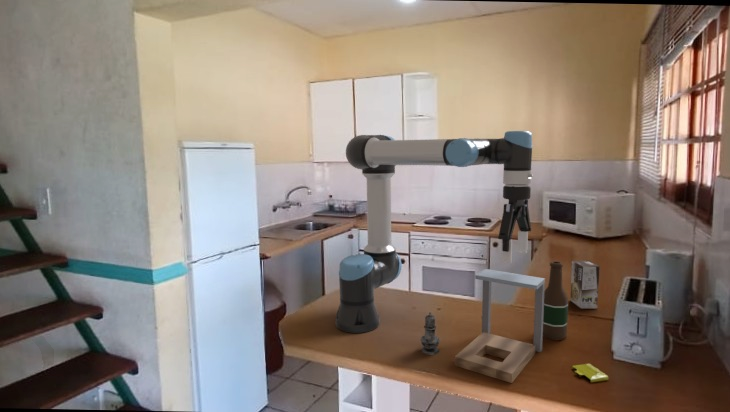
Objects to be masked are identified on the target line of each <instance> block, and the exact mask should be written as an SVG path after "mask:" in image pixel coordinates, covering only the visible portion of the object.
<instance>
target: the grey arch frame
mask: <svg viewBox="0 0 730 412" xmlns="http://www.w3.org/2000/svg"><path fill="white" fill-rule="evenodd" d="M474 279H475V280H479V281H480V280H481V281H482V301H481V302H482V303H481V304H482V308H481V312H482V315H481V333H482V332H485V333H489V334H491V323H492V322H491V318H492V317H491V316H492V313H491V312H492V283H497V284H502V285H508V286H513V287H517V288H518V287H519V288H523V289H529V290H530V289H531V290H534V291H535V292H534V293H535V294H534V295H535V296H534V317H533V319H534V322H533V343H532V344H533V345H535V353H536V352H537V353H541V352H542V351H543V338H544V336H543V315H544V291H545V289H546V288H545V287H546V278H544V277H539V276H534V275H533V276H531V275H525V274H520V273H512V272H508V271H501V270H494V269H489V268H484V269H483V270H481V271H480V272H478V273H477V274H475V277H474Z"/></svg>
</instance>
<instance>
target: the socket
mask: <svg viewBox="0 0 730 412" xmlns="http://www.w3.org/2000/svg"><path fill="white" fill-rule="evenodd" d="M486 354H487V355H491V356H494V357H497V358H501V359H504V360H503V361H497V360H494V359H490V358H487V357H484V356H485V355H486ZM535 354H536V351H535V345H533V343H528V342H524V341H520V340H517V339H513V338H508V337H504V336H500V335H497V334H493V333H490V334H489V333H485V332H482V331H481V333H480V334H479V335H478V336H477V337H475V338H474V339H473V340H472V341H471V342H470V343H469V344H467V345H466V346H465V347H464V348H463V349H462V350H460V352H458V353H457V354H456V355H455V356H454V366H455V367H459V368H462V369H465V370H469V371H472V372H475V373H477V374H481V375H484V376H488V377H491V378H495V379H496V380H500V381H504V382H506V383H511V384H512V383H513V382H514V381H515V379H516V378H517V377H518V376H519V375H520V373H521V372H522V371H523V370H524V368H525V367H526V366H527V365H528V363H529V362H530V361H531V359H532V358H533V357H534V356H535Z"/></svg>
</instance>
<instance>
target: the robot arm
mask: <svg viewBox="0 0 730 412" xmlns="http://www.w3.org/2000/svg"><path fill="white" fill-rule="evenodd" d="M533 147H534V146H533V134H532V132H531V131H529V130H511V131H510V130H509V131H505V132H504V137H500V138H465V137H464V138H463V137H462V138H450V139H449V138H443V139H442V138H439V139H438V138H437V139H436V138H435V139H432V138H431V139H395V138H393V137H392V136H389V135H384V134H369V135H368V134H360V135H356V136H354V137H353V138H351V139H350V140H349V142H347V145H346V148H345V157H346V160H347V162H348V163H349V165H351V166H352V167H353V168H355V169H357V170H361V173H362V175H363V176H364V177H365V178H366V219H367V223H366V224H367V244H366V245H365V246H364V247H363V253H362V254H361V253H357V254H355V255H353V254H352V255H348V256H346V257H344V258H343V259H342V260H341V261H340V263H339V267H338V268H339V269H338V270H339V271H338V276H339V279H338V280H339V281H338V282H339V300H340V301H339V306H338V310H337V313H336V316H335V327H336V328H337V329H338V330H340V331H342V332H345V333H352V334H353V333H354V334H361V333H367V332H372V331H373V330H376V329H377V328H378V327H380V315H379V314H378V311H377V307H376V305H375V290H376V289H378V288H380V287H383V286H384V285H389V284H390V283H392V282H393V281H394V280H396V279H397V278H398V277H399V276H400V274H401V271H402V267H403V266H402V265H403V264H402V259H401V257H400V256H399V254H398V253H397V252H396V250H397V248H396V247H395V246H394V245H393V244H392V187H391V185H392V183H391V182H392V181H391V180H392V179H391V178H392V177H394V176H395V173H396V166H440V167H441V166H444V167H445V166H447V167H449V166H450V167H457V168H466V167H471V166H479V165H503V173H502V174H503V175H502V176H503V177H502V183H503V184H504V186H502V198H503V199H505V200H508V203H504V204H503V210H502V211H503V213H502V217H501V222H500V227H499V232H498V240H501V253H500V254H501V255H500V256H501V258H500V259H501V260H500V261H501V263H507V264H508V263H509V264H512V262H513V261H512V259H513V239H512V236H513V233H514V229H515V225H516V224H517V226H518V231H517V253H522V254H527V253H528V243H529V242H528V239H529V237H528V236H529V232H531V231H532V228H531V227H532V226H531V225H532V224H531V219H530V213H529V212H530V211H529V200H530V199H531V189H532V188H531V186H530V185H531V183H532V178H533V177H534V175H533V173H532V158H533ZM516 222H517V223H516Z"/></svg>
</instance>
